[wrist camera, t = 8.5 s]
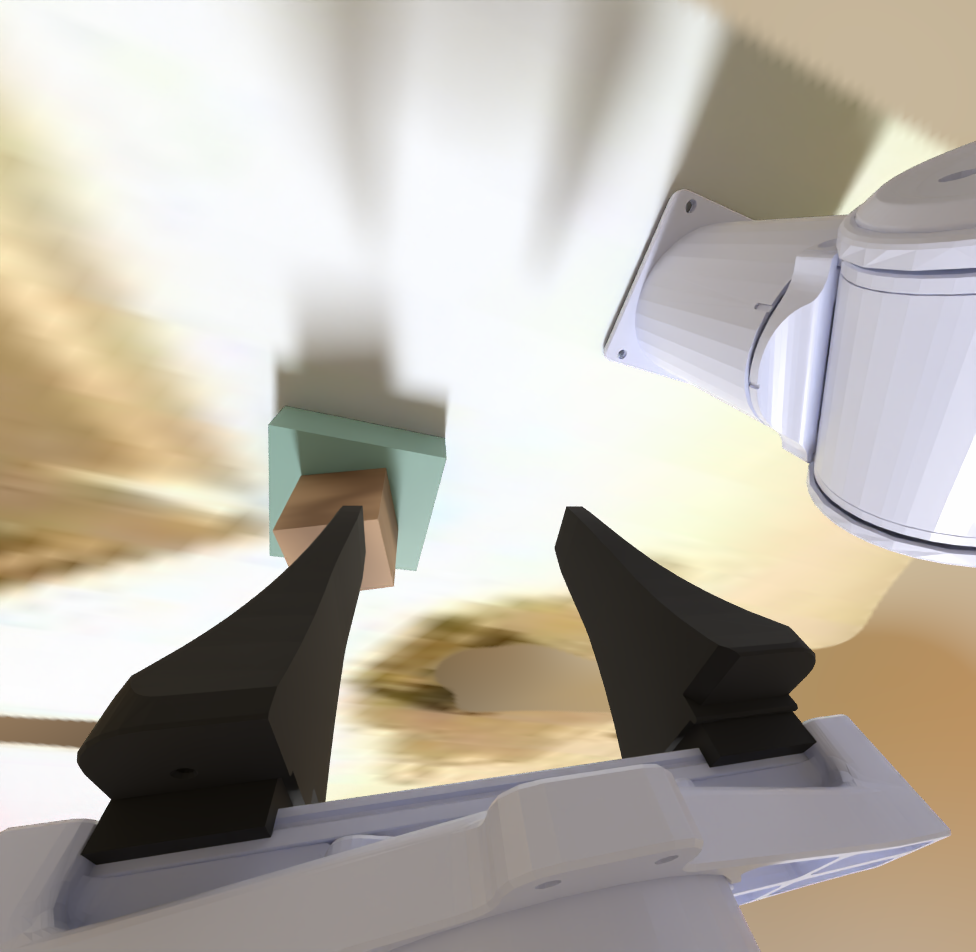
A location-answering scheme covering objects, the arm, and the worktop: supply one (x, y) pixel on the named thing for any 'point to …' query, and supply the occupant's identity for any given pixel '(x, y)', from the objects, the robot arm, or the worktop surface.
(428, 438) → the base block
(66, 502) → the worktop surface
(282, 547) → the walnut cube
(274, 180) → the worktop surface
